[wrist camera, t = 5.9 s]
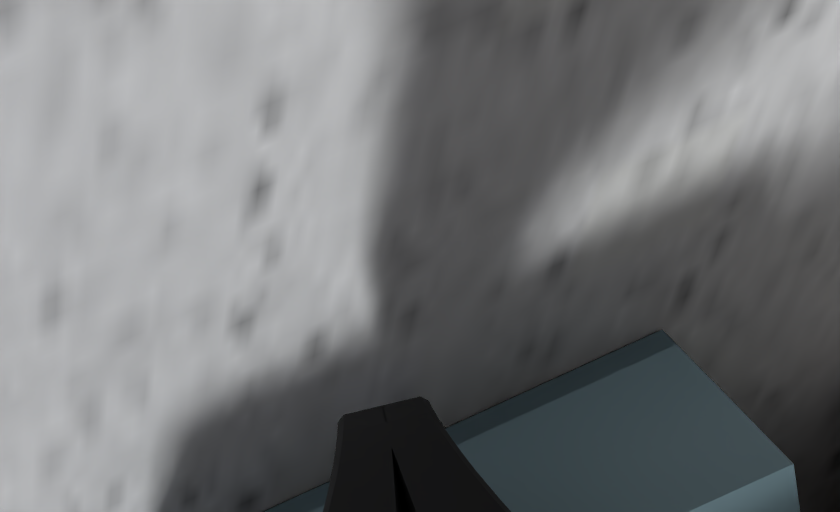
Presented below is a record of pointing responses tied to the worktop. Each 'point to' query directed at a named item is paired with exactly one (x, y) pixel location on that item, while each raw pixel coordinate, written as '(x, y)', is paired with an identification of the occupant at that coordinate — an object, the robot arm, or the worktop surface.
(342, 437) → the robot arm
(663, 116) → the worktop surface
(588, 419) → the tray
